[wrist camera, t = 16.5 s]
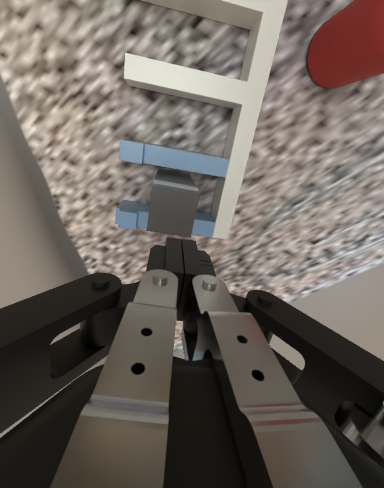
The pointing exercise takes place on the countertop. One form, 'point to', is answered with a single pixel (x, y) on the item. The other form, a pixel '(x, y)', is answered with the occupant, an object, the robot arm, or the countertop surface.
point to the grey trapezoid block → (172, 203)
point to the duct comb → (214, 92)
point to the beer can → (349, 45)
